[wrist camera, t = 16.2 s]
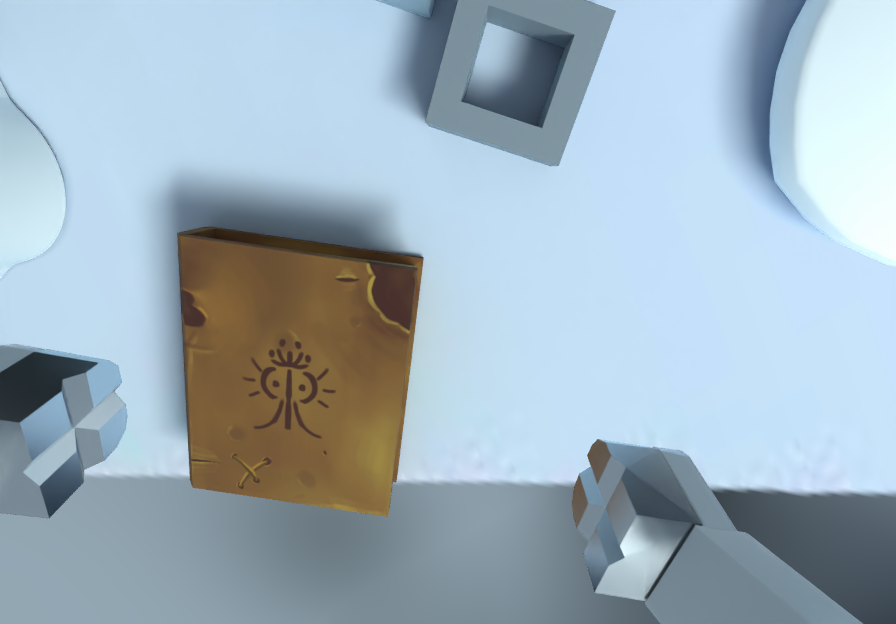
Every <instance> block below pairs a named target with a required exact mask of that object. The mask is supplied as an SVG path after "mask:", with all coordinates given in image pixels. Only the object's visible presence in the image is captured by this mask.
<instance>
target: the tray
mask: <svg viewBox="0 0 896 624" xmlns="http://www.w3.org/2000/svg"><path fill="white" fill-rule="evenodd" d="M376 1H379V2H382V3H385V4H388V5H391V6H394V7H397V8H400V9H403V10H406V11H409V12H412V13H415V14H417V15H420V16H423V17H426V18H429V19H431V15H432V11H433V7H434V3H435V0H376Z"/></svg>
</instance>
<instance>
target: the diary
mask: <svg viewBox="0 0 896 624" xmlns="http://www.w3.org/2000/svg"><path fill="white" fill-rule="evenodd" d="M177 237H178V256H179V275H180V295H181V314H182V334H183V353H184V372H185V392H186V411H187V430H188V450H189V469H190V481H191V484H192V486H193V488H199V489H206V490H213V491H220V492H226V493H233V494H239V495H246V496H253V497H259V498H266V499H273V500H279V501H286V502H293V503H299V504H307V505H313V506H319V507H326V508H333V509H340V510H346V511H353V512H360V513H366V514H373V515H379V516H386V517H388V513H389V508H390V500H391V492H392V483H393V482H396V480H397V473H398V465H399V457H400V448H401V440H402V432H403V424H404V415H405V407H406V399H407V391H408V382H409V374H410V366H411V358H412V349H413V341H414V333H415V325H416V316H417V308H418V300H419V291H420V283H421V275H422V267H423V258H422V257H415V256H409V255H402V254H395V253H388V252H381V251H374V250H367V249H360V248H353V247H346V246H340V245H333V244H326V243H319V242H312V241H305V240H298V239H291V238H284V237H278V236H271V235H264V234H257V233H250V232H243V231H236V230H229V229H222V228H215V227H203V228H198V229H194V230H189V231H184V232H180V233H177Z"/></svg>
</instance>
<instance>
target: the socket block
mask: <svg viewBox="0 0 896 624" xmlns="http://www.w3.org/2000/svg"><path fill="white" fill-rule="evenodd" d="M614 14H615V10H612V9H609V8H606V7H603V6H600V5H597V4H595V3H592V2H589V1H586V0H458V2H457V6H456V9H455V13H454V17H453V21H452V24H451V28H450V32H449V35H448V39H447V43H446V47H445V50H444V54H443V58H442V61H441V65H440V69H439V73H438V76H437V80H436V84H435V87H434V91H433V95H432V99H431V102H430V106H429V110H428V113H427V117H426V121H425V122H426V123H427V124H428V125H429V126H430V127H433V128H436V129H439V130H442V131H445V132H448V133H451V134H454V135H458V136H461V137H464V138H467V139H470V140H473V141H476V142H479V143H482V144H485V145H488V146H491V147H494V148H497V149H500V150H503V151H506V152H509V153H512V154H515V155H518V156H521V157H524V158H528V159H531V160H534V161H537V162H540V163H543V164H546V165H549V166H559V163H560V160H561V158H562V155H563V152H564V150H565V147H566V144H567V141H568V139H569V136H570V133H571V131H572V128H573V125H574V122H575V120H576V117H577V114H578V112H579V109H580V106H581V104H582V101H583V98H584V95H585V93H586V90H587V87H588V85H589V82H590V79H591V76H592V74H593V71H594V68H595V66H596V63H597V60H598V57H599V55H600V52H601V49H602V47H603V44H604V41H605V38H606V36H607V33H608V30H609V28H610V25H611V22H612V19H613V17H614ZM486 22H489V23H492V24H495V25H498V26H501V27H504V28H507V29H510V30H513V31H516V32H519V33H522V34H525V35H527V36H530V37H533V38H536V39H539V40H542V41H545V42H548V43H551V44H554V45H557V46H560V47H563V48H564V51H563V53H562V56H561V59H560V62H559V65H558V68H557V71H556V74H555V77H554V80H553V82H552V85H551V88H550V91H549V94H548V97H547V100H546V103H545V106H544V109H543V111H542V114H541V117H540V120H539V123H538V126H534V125H531V124H528V123H525V122H522V121H519V120H516V119H513V118H510V117H507V116H504V115H501V114H498V113H495V112H492V111H489V110H486V109H483V108H480V107H477V106H474V105H471V104H468V103H465V102H464V98H465V95H466V91H467V88H468V84H469V81H470V77H471V74H472V71H473V67H474V64H475V60H476V57H477V53H478V50H479V47H480V43H481V40H482V36H483V33H484V29H485V26H486Z"/></svg>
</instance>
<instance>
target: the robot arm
mask: <svg viewBox="0 0 896 624" xmlns="http://www.w3.org/2000/svg"><path fill="white" fill-rule="evenodd" d="M65 211H66V194H65V187H64V182H63V178H62V174H61V171H60V168H59V165H58V163H57V161H56V158H55V156H54V154H53V152H52V150H51V149H50V147H49V145H48V144H47V142H46V140H45V139H44V138H43V136H42V135H41V133H40V132H39V131H38V130H37V128H36V127H35V126H34V125H33V124H32V123H31V122H30V120H29V119H28V118H27V117H26V116H25V115H24V114H23V113H22V112H21V111H20V110H19V109H18V108H17V107H16V106H15V105H14V104H13V102H12V101H11V100H10V99H9V97H8V95H7V93H6V91H5V89H4V87H3V85H2V83H1V81H0V278H2V277H3V275H4V274H5V273H6V272H7V271H8V270H9V268H10V267H12V266H14V265H16V264H18V263H21V262H25V261H28V260H31V259H33V258H35V257H37V256H39V255H40V254H42V253H43V252H45V251H46V250H47V249H48V248H49V247H50V246H51V245H52V244H53V243H54V241H55V240H56V238H57V237H58V235H59V233H60V231H61V228H62V225H63V222H64V218H65ZM121 383H122V380H121V376H120V371H119V367H118V365H116V364H114V363H113V362H111V361H109V360H104V359H98V358H93V357H87V356H82V355H76V354H71V353H66V352H60V351H55V350H49V349H46V350H45V349H41V348H36V347H30V346H24V345H19V344H10V345H1V346H0V513H3V514H13V515H23V516H31V517H41V518H50V517H51V516H52V515H53V514H54V513H55V512H56V511H57V510H58V509H59V508H60V507H61V506H62V505H63V504H64V503H65V501H66V500H67V499H68V498H69V497H70V496H71V495H72V494H73V493H74V492H75V491H76V490H77V489H78V488H79V487H80V486H81V485H82V484H83V482H84V470H85V469H87V468H89V467H91V466H93V465H96V464H98V463H100V462H102V461H104V460H105V459H106V458H107V457H108V456H109V455H110V454H111V453H112V452H113V451H114V449H115V448H116V447H117V446H118V444H119V442H120V440H121V438H122V436H123V434H124V432H125V429H126V422H127V410H126V404H125V403H124V402H123V401H122V400H121V398H120V397H119V396H118V395H117V394H116V393H115V392H114V391H115V390H116V389H117V388H118V387H119V385H120V384H121ZM587 456H588V459H589V462H590V465H591V467H589V468H588V469H586V470H585V471H583V472H582V473H580V474H579V476H578V478H577V481H576V484H575V486H574V491H573V500H572V507H573V517H574V520H575V524H576V528H577V530H578V531H579V532H580V533H581V534H582V535H583V536H584V538H586V540H587V541H588V542H589V543H588V545H587V547H586V549H585V551H584V553H583V554H584V557H585V561H586V564H587V568H588V571H589V575H590V578H591V582H592V586H593V589H594V592H595V593H601V594H607V595H613V596H619V597H625V598H631V599H637V600H643V601H646V603H645V604H646V606H647V607H648V608H649V609H650V611H651V612H652V613H653V615H654V616H655V617H656V619H657V620H658V621H659V622H660V624H862V623H861V622H860V621H859V620H857V619H856V618H855V617H853V616H852V615H851V614H849V613H848V612H847V611H846V610H844V609H843V608H842V607H841V606H839V605H838V604H837V603H836V602H834V601H833V600H832V599H830V598H829V597H828V596H827V595H825V594H824V593H823V592H822V591H820V590H819V589H818V588H816V587H815V586H814V585H813V584H811V583H810V582H809V581H807V580H806V579H805V578H804V577H802V576H801V575H800V574H799V573H797V572H796V571H795V570H793V569H792V568H791V567H790V566H788V565H787V564H786V563H784V562H783V561H782V560H781V559H779V558H778V557H777V556H776V555H774V554H773V553H772V552H770V551H769V550H768V549H767V548H765V547H764V546H763V545H761V544H760V543H759V542H758V541H756V540H755V539H753V537H751V536H750V535H749V534H747V533H744V532H738V531H737V530H736V529H735V527H734V526H733V524H732V522H731V521H730V519H729V518H728V516H727V514H726V513H725V511H724V510H723V508H722V507H721V505H720V504H719V502H718V501H717V499H716V498H715V496H714V494H713V493H712V491H711V490H710V488H709V486H708V485H707V483H706V482H705V480H704V479H703V477H702V476H701V474H700V472H699V471H698V469H697V468H696V466H695V465H694V463H693V462H692V460H691V458H690V457H689V456H688V455H687V454H685V453H684V452H683V451H680V450H672V449H665V448H658V447H653V448H651V447H646V446H639V445H633V444H626V443H620V442H613V441H607V440H600V439H598V440H597V441H596V442H595V443H594V444H593V445H592V447H591V449H590V451H589V453H588V455H587Z"/></svg>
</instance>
